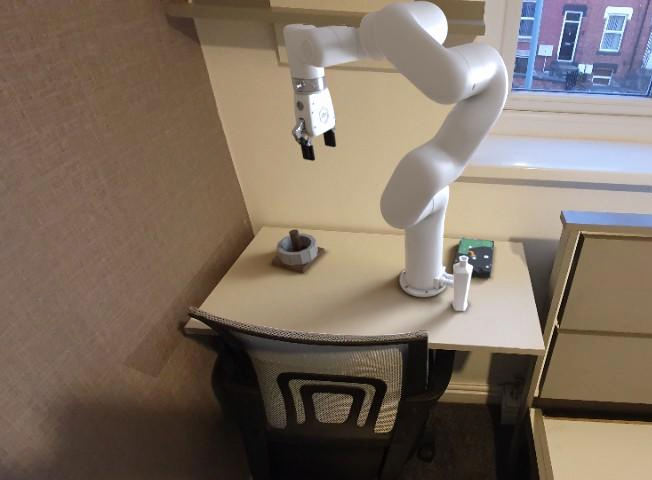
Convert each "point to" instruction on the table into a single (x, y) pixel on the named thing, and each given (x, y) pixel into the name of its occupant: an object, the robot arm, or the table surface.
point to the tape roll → (297, 257)
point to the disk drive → (477, 255)
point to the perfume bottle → (461, 283)
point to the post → (297, 248)
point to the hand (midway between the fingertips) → (320, 152)
